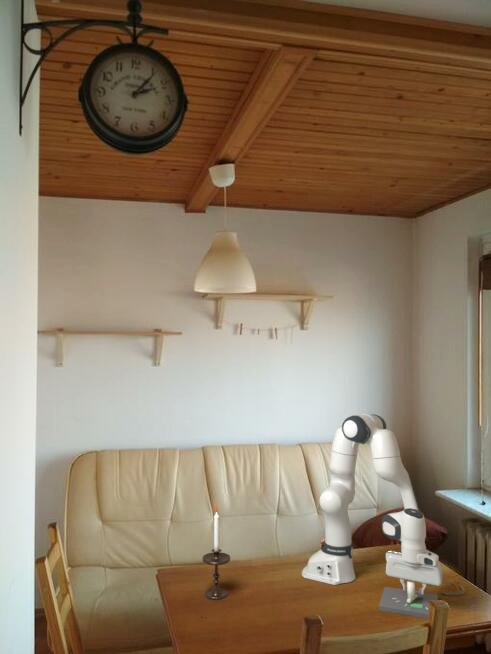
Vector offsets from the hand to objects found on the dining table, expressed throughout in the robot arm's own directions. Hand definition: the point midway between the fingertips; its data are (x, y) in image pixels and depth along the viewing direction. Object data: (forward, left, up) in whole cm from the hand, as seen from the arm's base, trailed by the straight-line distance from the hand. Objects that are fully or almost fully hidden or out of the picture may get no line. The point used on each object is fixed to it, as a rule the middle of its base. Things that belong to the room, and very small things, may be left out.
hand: (413, 592), depth 203 cm
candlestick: (-73, -17, -6) cm, 75 cm away
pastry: (+14, +19, -6) cm, 24 cm away
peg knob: (0, +2, -4) cm, 4 cm away
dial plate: (-2, +2, -5) cm, 6 cm away
